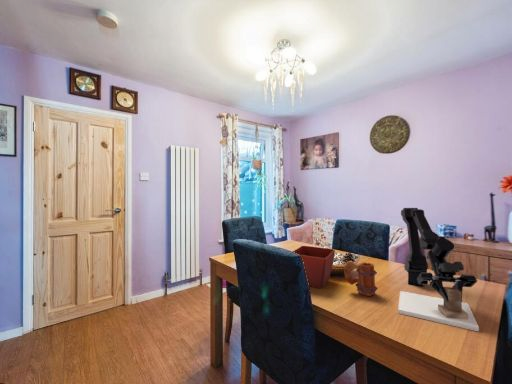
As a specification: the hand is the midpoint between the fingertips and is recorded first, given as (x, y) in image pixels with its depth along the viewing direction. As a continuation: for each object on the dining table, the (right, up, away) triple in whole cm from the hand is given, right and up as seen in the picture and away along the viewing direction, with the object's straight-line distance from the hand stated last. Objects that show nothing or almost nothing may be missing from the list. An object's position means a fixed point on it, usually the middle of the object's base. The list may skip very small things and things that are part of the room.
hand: (454, 301), depth 90 cm
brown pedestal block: (0, -5, +1) cm, 6 cm away
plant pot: (-44, -8, +39) cm, 59 cm away
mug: (-24, -7, +25) cm, 36 cm away
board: (-2, -7, +8) cm, 11 cm away
